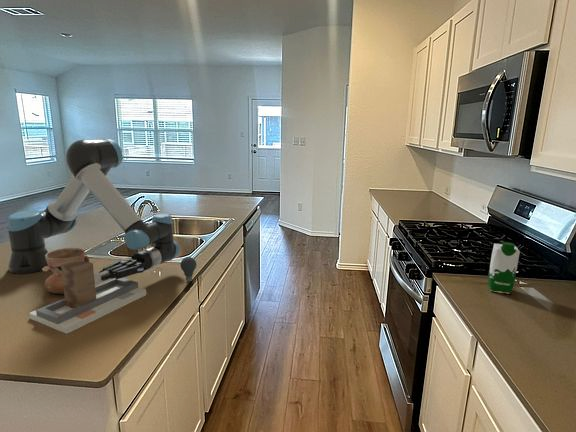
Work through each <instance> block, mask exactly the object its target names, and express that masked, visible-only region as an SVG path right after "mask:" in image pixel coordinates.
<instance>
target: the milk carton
mask: <svg viewBox="0 0 576 432" xmlns="http://www.w3.org/2000/svg"><path fill="white" fill-rule="evenodd" d="M520 253H521V251H520V249H518V247H517V246H516V245H515V243H513V242H509V241H503V242H502V243H493V247H492V251H491V257H490V262H489V269H488V277H487V278H488V279H487V286H488V285H489V286H488V288H489V287H490V289H491V290H493V291H502V292H509V293H511V292H513V288H514V285H515V280H516V275H517V270H518V264H519V260H520V259H519V258H520ZM490 289H489V290H490ZM511 294H512V293H511Z"/></svg>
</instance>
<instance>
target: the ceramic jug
mask: <svg viewBox="0 0 576 432" xmlns="http://www.w3.org/2000/svg"><path fill="white" fill-rule="evenodd" d="M45 258H46V261H47V264H48V266H45V267H44V268H43V269H42V270H41V271H43V272H49V271H51V272H52V274H51V275H49V276H48V277H47V278H46V279H45V281H44V289H45V290H47V292H49V293H51V294H57V295H61V294H62V295H64V286H63V278H62V270H61V265H62V264H65V263H68V262H71V261H74V260H77V259H80V260H84V261H87V262H90V258H89V256H88V255H87V254H86V251H85V250H84V249H82V248H80V247H63V248H58V249H53V250H51V251H48V253H47V254H46V255H45Z"/></svg>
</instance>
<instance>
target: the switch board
mask: <svg viewBox="0 0 576 432" xmlns="http://www.w3.org/2000/svg"><path fill="white" fill-rule="evenodd" d="M95 290H96V299H95V300H93V301H90V302H88V303H86V304H83V305H81V306H79V307H77V308H72V307H69V306H66V303H65V297H64V298H62V299H59V300H56V301H55V302H52V303H50V304H47V305H44V306H42V307H40V308H37V309H36V310H33V311H31V312H29V313H28V314H29V319H30V320H33V321H35V322H37V323H40V324H42V325H44V326H47V327H49V328H51V329H54V330H56V331H58V332H61V333H64V334H66V335H67V334H69V333H72V332H74V331H76V330H79V328H82V327H84V326H87V325H88V324H90V323H93V322H94V321H97V320H98V319H100V318H102V317H104V316H107V315H108V314H111V313H112V312H115V311H117V310H119V309H120V308H122V307H124V306H126V305H129V304H131V303H133V302H136V301H137V300H139V299H141V298H143V297H145V296H147V289H145V288H140V287H139V282H138V281H134V280H131V279H127V278H126V277H123V278H120V279H116V278H113V279H108V280H106V281H103V282H101V283H98V284H96V285H95Z"/></svg>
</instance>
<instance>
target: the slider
mask: <svg viewBox="0 0 576 432" xmlns="http://www.w3.org/2000/svg"><path fill="white" fill-rule="evenodd" d="M93 263H94V262H90V261H89V262H87V261H84V260H80V259H77V260H74V261H71V262H68V263H65V264H62V265H61V270H62V278H63V286H64V294H63V295H64V298H65V303H66V306H69V307H72V308H77V307H79V306H81V305H83V304H86V303H88V302H90V301H93V300H95V299H96V290H95V286H96V284H95V280H94V275H95V273H94V272H95V271H94V264H93Z"/></svg>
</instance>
